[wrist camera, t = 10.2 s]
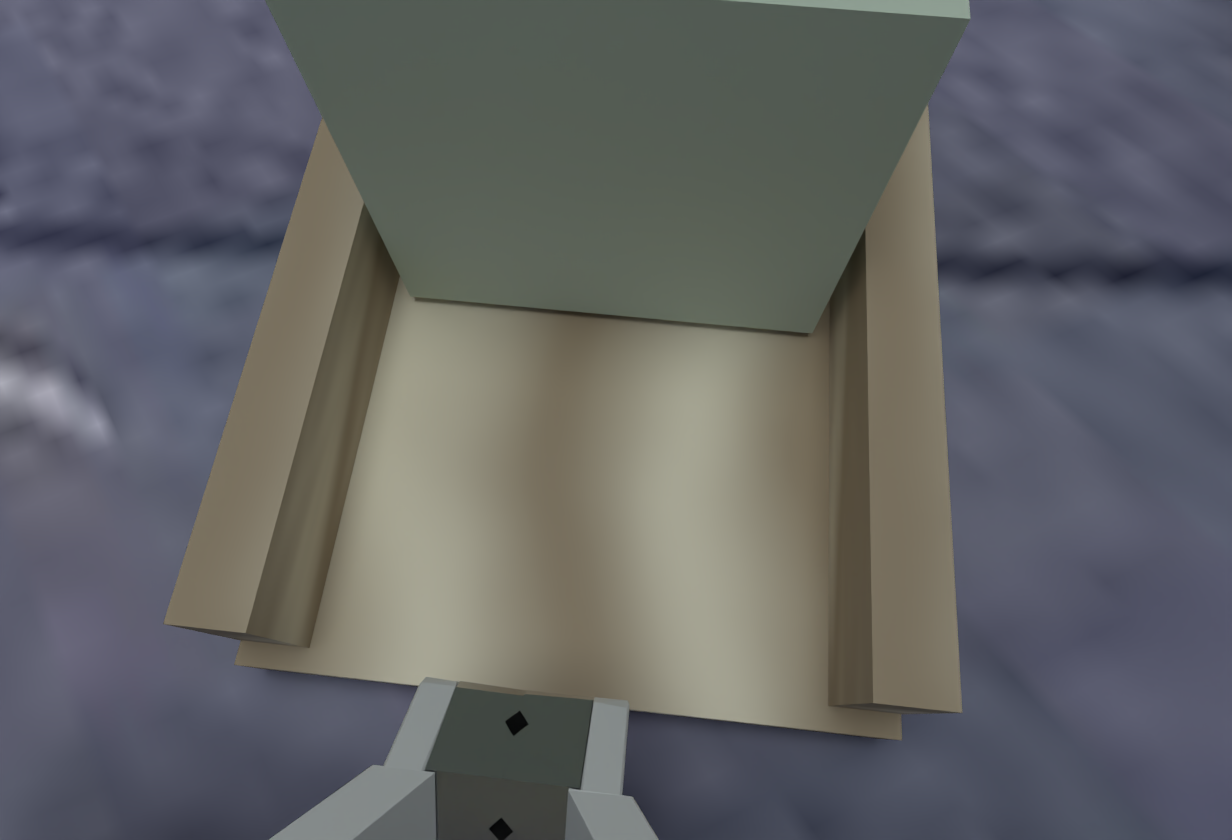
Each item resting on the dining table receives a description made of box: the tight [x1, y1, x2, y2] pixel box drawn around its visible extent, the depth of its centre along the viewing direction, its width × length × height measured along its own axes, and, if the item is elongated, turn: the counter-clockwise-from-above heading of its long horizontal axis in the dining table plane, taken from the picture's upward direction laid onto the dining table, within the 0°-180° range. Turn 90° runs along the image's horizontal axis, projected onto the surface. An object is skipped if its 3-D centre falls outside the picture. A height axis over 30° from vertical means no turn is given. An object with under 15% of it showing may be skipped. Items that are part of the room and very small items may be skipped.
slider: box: [265, 0, 970, 333], centre depth 14 cm, size 10×6×12 cm, turn 84°
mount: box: [163, 104, 962, 740], centre depth 18 cm, size 14×19×6 cm
